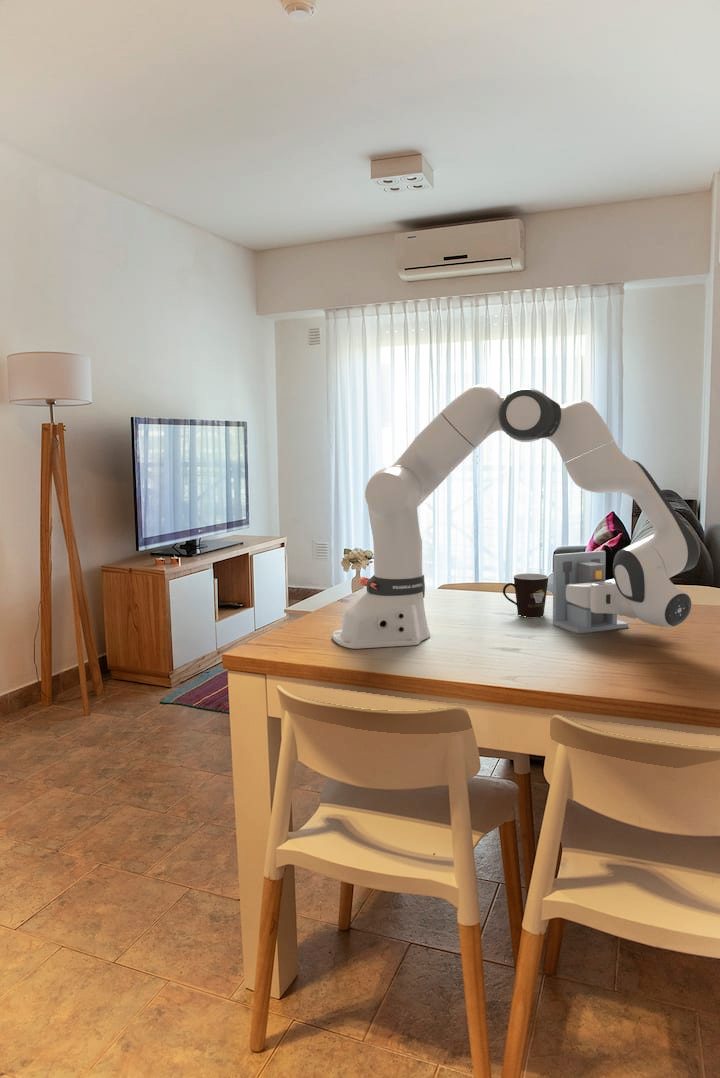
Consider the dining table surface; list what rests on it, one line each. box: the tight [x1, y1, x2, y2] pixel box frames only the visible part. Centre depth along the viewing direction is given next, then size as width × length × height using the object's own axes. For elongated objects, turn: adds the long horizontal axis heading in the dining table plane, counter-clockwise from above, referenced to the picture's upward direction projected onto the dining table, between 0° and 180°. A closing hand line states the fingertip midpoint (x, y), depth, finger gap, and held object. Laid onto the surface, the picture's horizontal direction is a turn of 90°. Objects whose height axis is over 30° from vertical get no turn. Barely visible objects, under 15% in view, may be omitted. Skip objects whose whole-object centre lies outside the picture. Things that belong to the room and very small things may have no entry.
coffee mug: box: [502, 573, 549, 618], centre depth 189 cm, size 12×9×10 cm
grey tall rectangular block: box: [577, 562, 606, 625], centre depth 176 cm, size 4×6×14 cm
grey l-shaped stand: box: [552, 550, 629, 634], centre depth 176 cm, size 14×10×17 cm
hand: (588, 585), depth 177 cm, fingers open, 8 cm apart
